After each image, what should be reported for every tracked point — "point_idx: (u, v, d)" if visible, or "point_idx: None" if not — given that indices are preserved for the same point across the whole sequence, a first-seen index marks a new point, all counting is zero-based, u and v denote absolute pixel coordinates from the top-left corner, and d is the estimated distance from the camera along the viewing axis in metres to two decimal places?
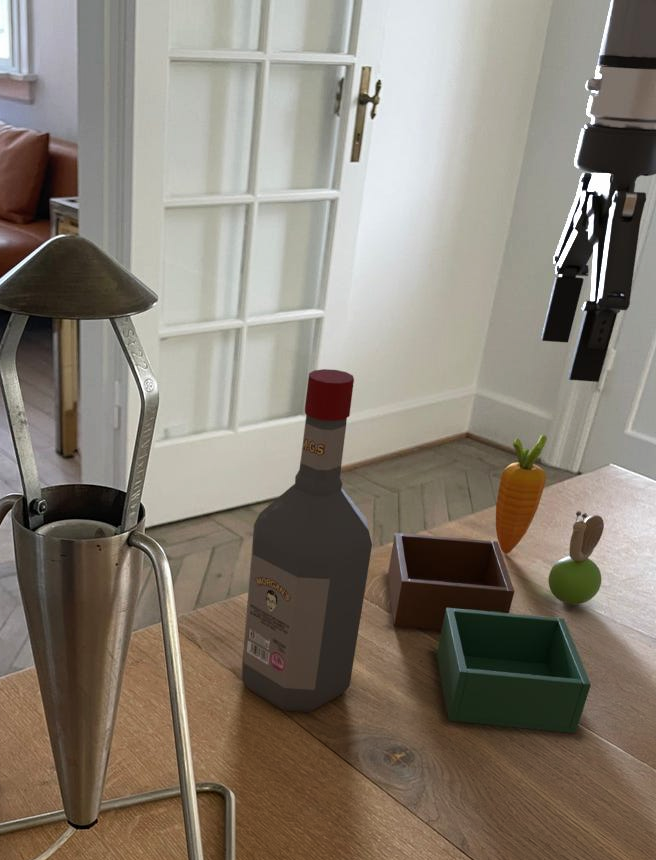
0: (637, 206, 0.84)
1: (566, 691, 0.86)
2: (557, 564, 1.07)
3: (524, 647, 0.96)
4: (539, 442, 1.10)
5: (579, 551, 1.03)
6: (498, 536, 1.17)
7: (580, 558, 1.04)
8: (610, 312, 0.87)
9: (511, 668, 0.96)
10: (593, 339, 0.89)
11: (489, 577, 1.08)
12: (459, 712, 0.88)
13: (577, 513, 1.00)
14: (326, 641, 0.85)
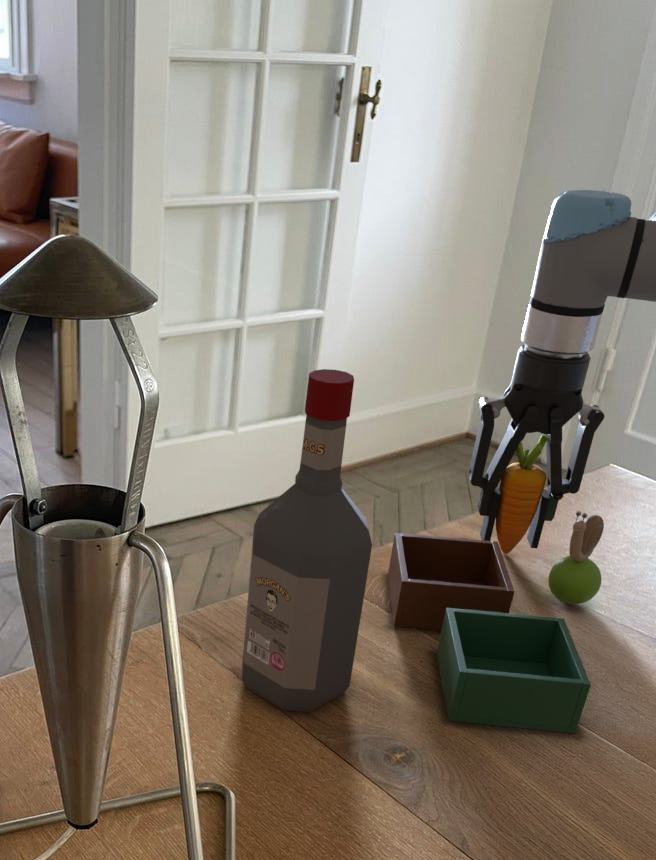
0: (481, 413, 1.09)
1: (566, 691, 0.86)
2: (557, 564, 1.07)
3: (524, 647, 0.96)
4: (539, 442, 1.10)
5: (579, 551, 1.03)
6: (498, 536, 1.17)
7: (580, 558, 1.04)
8: (481, 487, 1.14)
9: (511, 668, 0.96)
10: (478, 504, 1.16)
11: (489, 577, 1.08)
12: (459, 712, 0.88)
13: (577, 513, 1.00)
14: (326, 640, 0.85)
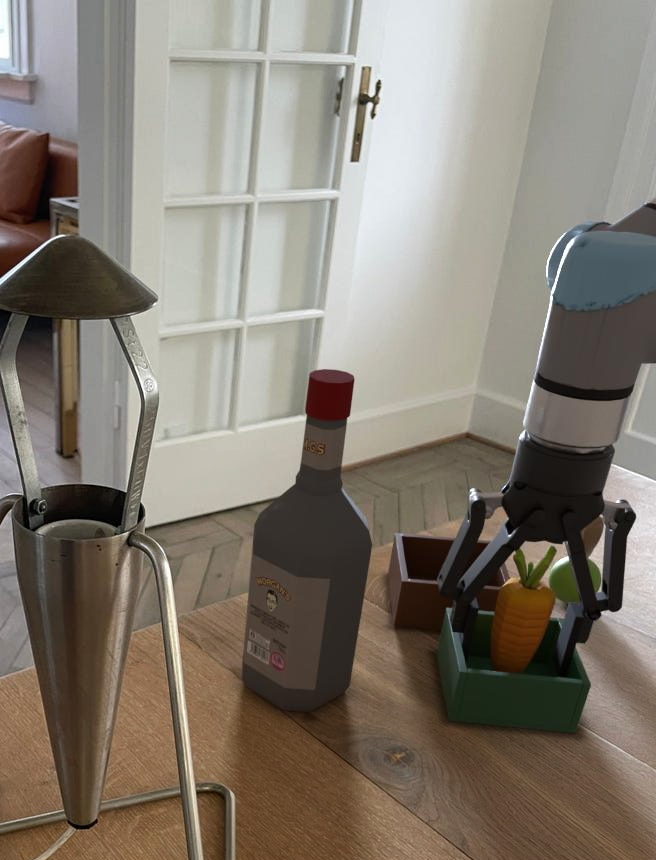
0: (470, 509, 0.83)
1: (566, 691, 0.86)
2: (557, 564, 1.07)
3: None
4: (547, 555, 0.85)
5: None
6: (494, 667, 0.92)
7: None
8: None
9: None
10: (450, 617, 0.90)
11: None
12: (459, 712, 0.88)
13: None
14: (326, 640, 0.85)
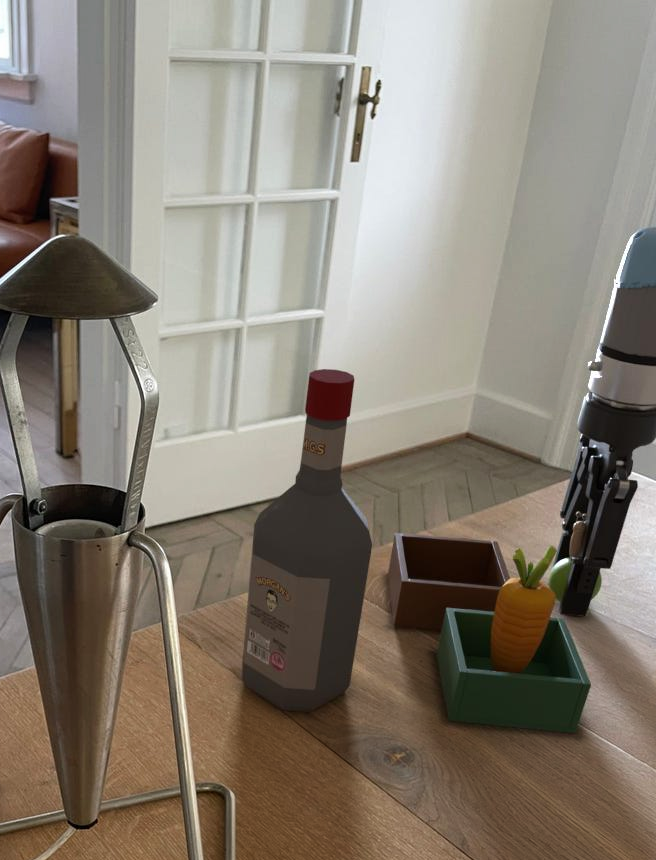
0: (628, 494, 0.94)
1: (566, 691, 0.86)
2: (557, 565, 1.07)
3: None
4: (546, 555, 0.85)
5: None
6: (494, 667, 0.92)
7: None
8: None
9: None
10: (581, 586, 1.02)
11: (489, 577, 1.08)
12: (459, 712, 0.88)
13: (577, 514, 1.00)
14: (326, 640, 0.85)
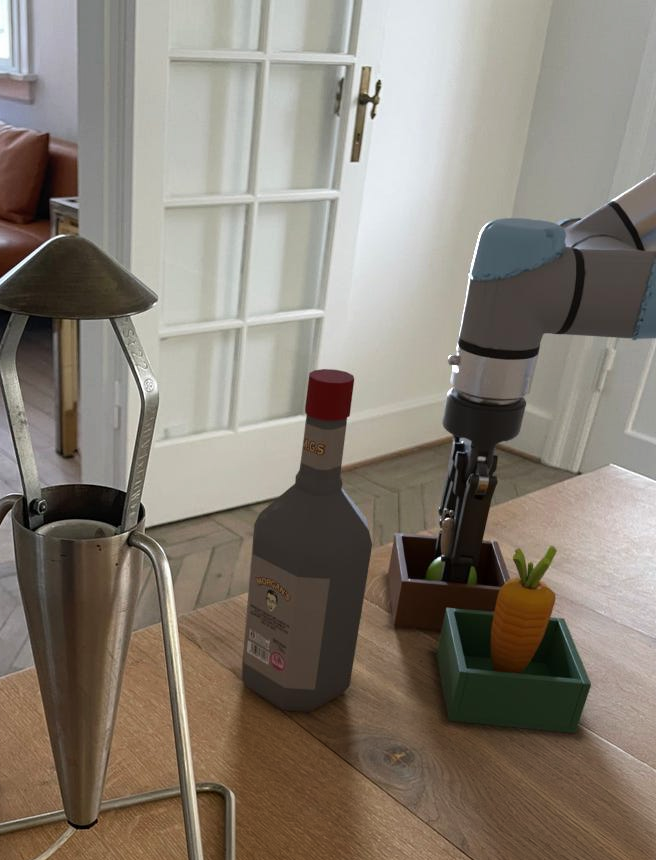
0: (488, 490, 0.93)
1: (566, 691, 0.86)
2: (432, 563, 1.05)
3: None
4: (546, 555, 0.85)
5: None
6: (494, 667, 0.92)
7: None
8: None
9: None
10: None
11: (489, 577, 1.08)
12: (459, 712, 0.88)
13: (444, 511, 0.98)
14: (326, 640, 0.85)
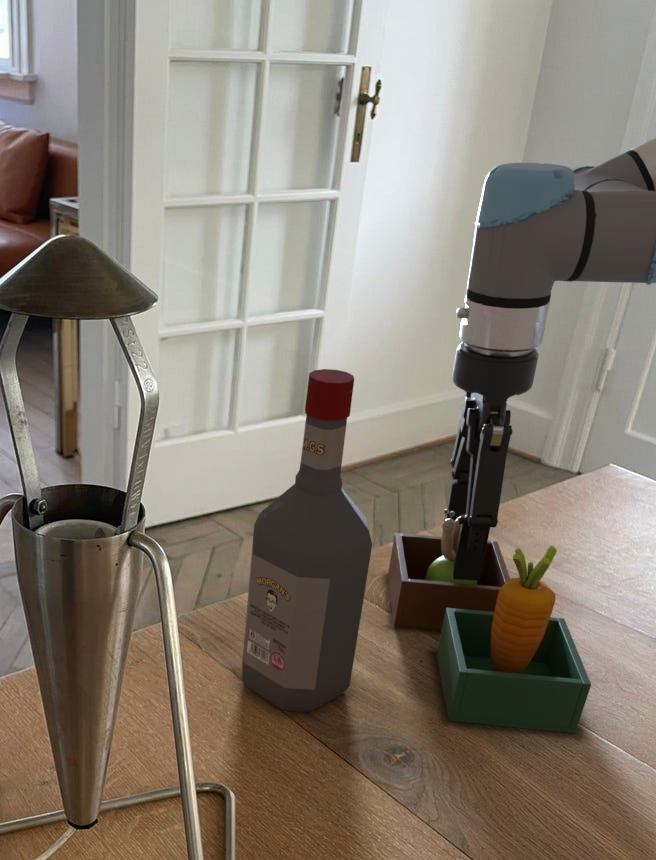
0: (503, 439, 0.90)
1: (566, 691, 0.86)
2: (433, 563, 1.05)
3: None
4: (546, 555, 0.85)
5: (450, 550, 1.01)
6: (494, 667, 0.92)
7: (453, 557, 1.02)
8: (482, 526, 0.95)
9: None
10: (469, 548, 0.96)
11: (489, 577, 1.08)
12: (459, 712, 0.88)
13: (445, 511, 0.98)
14: (326, 640, 0.85)
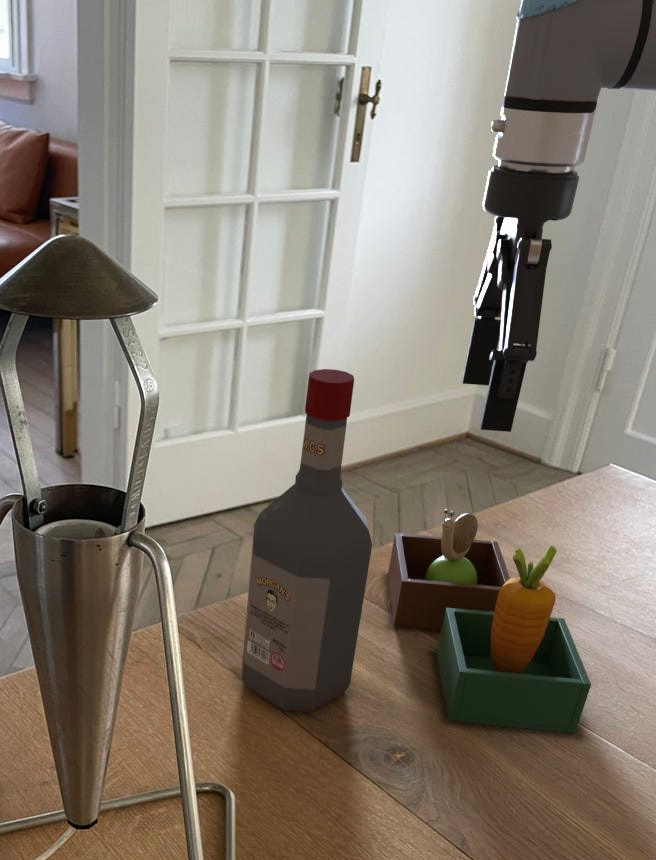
0: (542, 253, 0.81)
1: (566, 691, 0.86)
2: (433, 563, 1.05)
3: None
4: (546, 555, 0.85)
5: (450, 550, 1.01)
6: (494, 667, 0.92)
7: (453, 557, 1.02)
8: (518, 362, 0.84)
9: None
10: (502, 389, 0.86)
11: (489, 577, 1.08)
12: (459, 712, 0.88)
13: (445, 511, 0.98)
14: (326, 640, 0.85)
